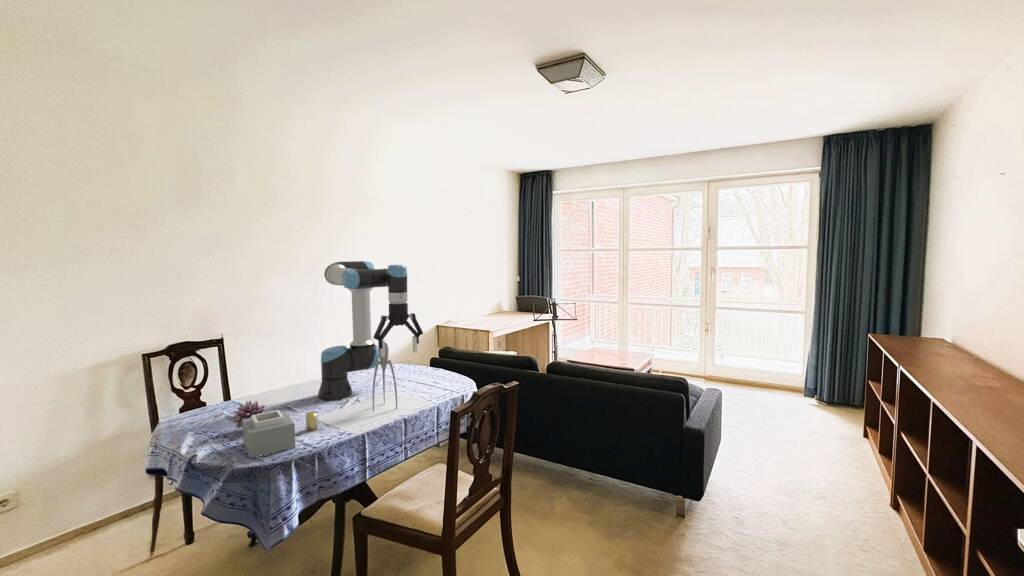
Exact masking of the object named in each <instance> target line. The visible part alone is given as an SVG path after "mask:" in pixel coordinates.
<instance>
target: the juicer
mask: <svg viewBox="0 0 1024 576" xmlns="http://www.w3.org/2000/svg"><path fill="white" fill-rule="evenodd" d="M378 348H379V347H378ZM387 365H389V369H390V371H391V374H392V379H393V384H394V386H393V387H394V395H395V396H394V397H395V408H396V410H398V391H397V381H396V376H395V370H394V366H393V363H392V360H391V359H389V344H388V343H387V342H386V341H385V357H382V356H381V349H380V348H379V361H378V360H377V363H376V367H374V374H373V379H372V381H373V383H372V412H375V392H376V391H375V388H376V379H377V372H378V370H379V369H378V368H379V366H380V367H381V369H382V389H383V391H382V392H383V403H384V405H385V400H386V397H385V395H386V393H385V391H386V390H385V389H386V388H385V387H386V380H385V379H386V378H385V377H386V368H387Z"/></svg>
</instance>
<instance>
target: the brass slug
mask: <svg viewBox="0 0 1024 576" xmlns="http://www.w3.org/2000/svg"><path fill="white" fill-rule="evenodd" d="M305 424H306V425H305V429H306V432H309V433H310V432H311V431H312V432H316V431H317V430H318V428H319V427H318V412H317V411H310V412H309V411H308V412H306V413H305Z"/></svg>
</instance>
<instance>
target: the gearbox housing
mask: <svg viewBox="0 0 1024 576" xmlns="http://www.w3.org/2000/svg"><path fill="white" fill-rule="evenodd" d="M242 427H243V429H242V431H243V432H242V440H243V442H242V443H243V445H244V448H245V450H246V453H247V455H248V457H250V458H252V459H254V458H253V457H256V456H260V455H264V454H268V453H272V452H276V453H278V452H277V451H280V452H282V451H281V450H285V451H287V450H286V449H289V448H293V449H296V434H295V433H296V432H295V431H296V430H295V422H294V421H293V420H292V419H291V417H290V416H289V415H288V413H287V412H286V411H285V410H283V411H281V410H280V409H277V410H272V411H267V412H266V413H261V414H256V415H251V418H247V419H242ZM289 450H290V449H289ZM272 454H273V453H272ZM268 455H269V454H268ZM264 456H265V455H264ZM260 457H261V456H260ZM250 458H249V459H250ZM256 458H257V457H256Z"/></svg>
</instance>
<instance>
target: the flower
mask: <svg viewBox="0 0 1024 576" xmlns="http://www.w3.org/2000/svg"><path fill="white" fill-rule="evenodd" d="M265 407H266V404H260V405H259V402H258V400H255V402H253V403H252V401H251V400H249V401H245V405H244V404H239V406H237V410H233V413H235V414H236V415H234V416H232V419H233V421H232V423H237V424H236V425H235V428H238V429H240V428H242V433H243V426H242V419H247V418H251V415H256V414H261V413H266V412H268V411H267V410H265Z"/></svg>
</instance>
